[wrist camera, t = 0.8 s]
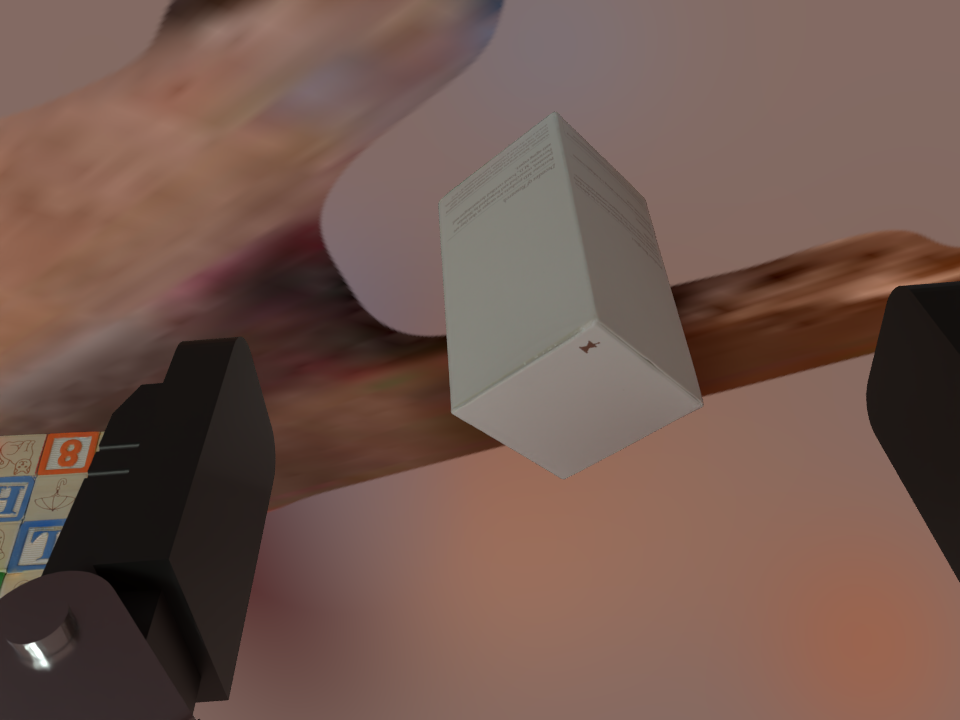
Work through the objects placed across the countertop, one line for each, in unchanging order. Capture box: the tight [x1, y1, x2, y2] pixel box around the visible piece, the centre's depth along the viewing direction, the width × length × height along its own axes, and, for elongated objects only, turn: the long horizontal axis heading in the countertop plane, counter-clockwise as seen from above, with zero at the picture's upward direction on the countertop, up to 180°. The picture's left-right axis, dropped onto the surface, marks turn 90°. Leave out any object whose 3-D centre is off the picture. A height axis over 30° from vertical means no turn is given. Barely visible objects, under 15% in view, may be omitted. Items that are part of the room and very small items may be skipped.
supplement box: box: [438, 112, 704, 479], centre depth 39 cm, size 7×7×13 cm
